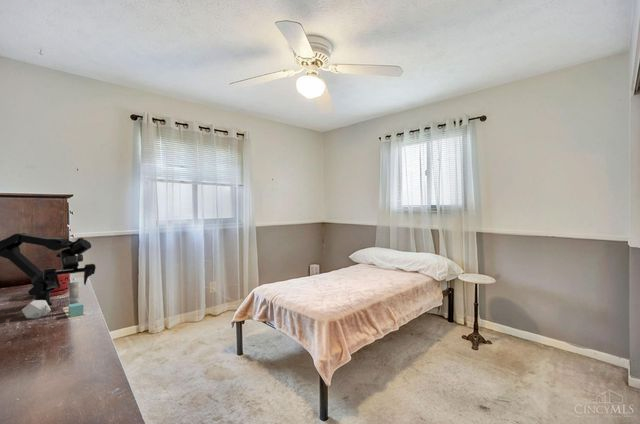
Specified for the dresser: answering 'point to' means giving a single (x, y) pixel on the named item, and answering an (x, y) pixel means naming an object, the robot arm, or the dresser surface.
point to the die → (36, 309)
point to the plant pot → (61, 285)
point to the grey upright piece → (73, 298)
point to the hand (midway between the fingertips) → (72, 286)
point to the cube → (76, 309)
